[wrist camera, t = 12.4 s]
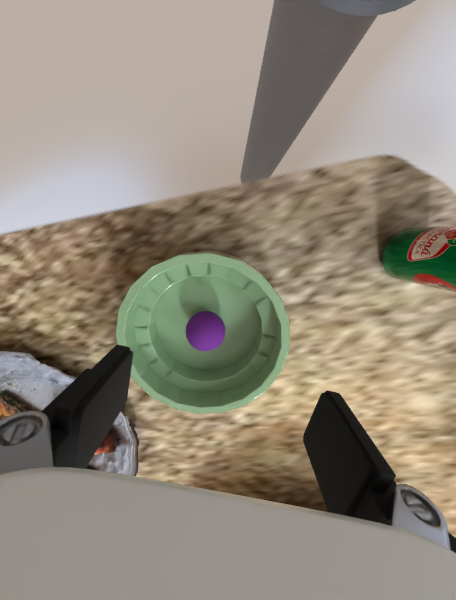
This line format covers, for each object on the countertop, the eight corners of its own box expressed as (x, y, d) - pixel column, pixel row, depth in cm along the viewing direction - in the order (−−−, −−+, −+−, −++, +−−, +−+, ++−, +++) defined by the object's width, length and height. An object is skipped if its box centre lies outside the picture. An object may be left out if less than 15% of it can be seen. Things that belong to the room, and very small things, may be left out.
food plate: (175, 417, 29) (168, 441, 25) (95, 526, 33) (80, 558, 30) (-20, 311, 25) (-59, 323, 22) (-78, 451, 30) (-118, 478, 26)
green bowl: (149, 234, 23) (127, 232, 18) (296, 270, 24) (313, 278, 19) (129, 367, 27) (107, 396, 22) (256, 394, 28) (262, 427, 23)
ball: (193, 302, 24) (186, 314, 20) (229, 311, 24) (229, 324, 20) (186, 336, 25) (178, 353, 21) (221, 344, 25) (219, 362, 21)
